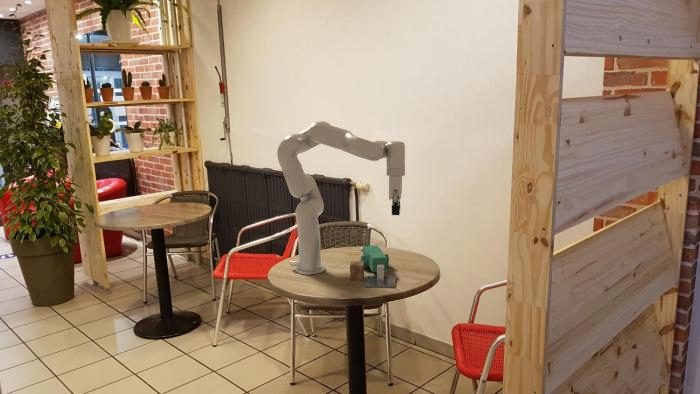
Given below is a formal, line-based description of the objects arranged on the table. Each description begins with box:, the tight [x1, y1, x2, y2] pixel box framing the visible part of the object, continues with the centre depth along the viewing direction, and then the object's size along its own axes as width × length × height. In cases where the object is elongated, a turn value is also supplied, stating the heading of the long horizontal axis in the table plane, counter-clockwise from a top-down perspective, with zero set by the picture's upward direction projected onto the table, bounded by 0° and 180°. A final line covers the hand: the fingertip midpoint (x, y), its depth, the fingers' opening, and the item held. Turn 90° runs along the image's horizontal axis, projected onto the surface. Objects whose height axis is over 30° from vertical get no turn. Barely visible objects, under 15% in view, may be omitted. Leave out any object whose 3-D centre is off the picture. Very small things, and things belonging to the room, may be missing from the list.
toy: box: [359, 242, 390, 273], centre depth 234 cm, size 12×10×30 cm
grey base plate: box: [364, 265, 397, 289], centre depth 212 cm, size 12×12×7 cm
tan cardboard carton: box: [349, 260, 365, 282], centre depth 217 cm, size 5×5×7 cm
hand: (396, 212), depth 218 cm, fingers open, 9 cm apart
